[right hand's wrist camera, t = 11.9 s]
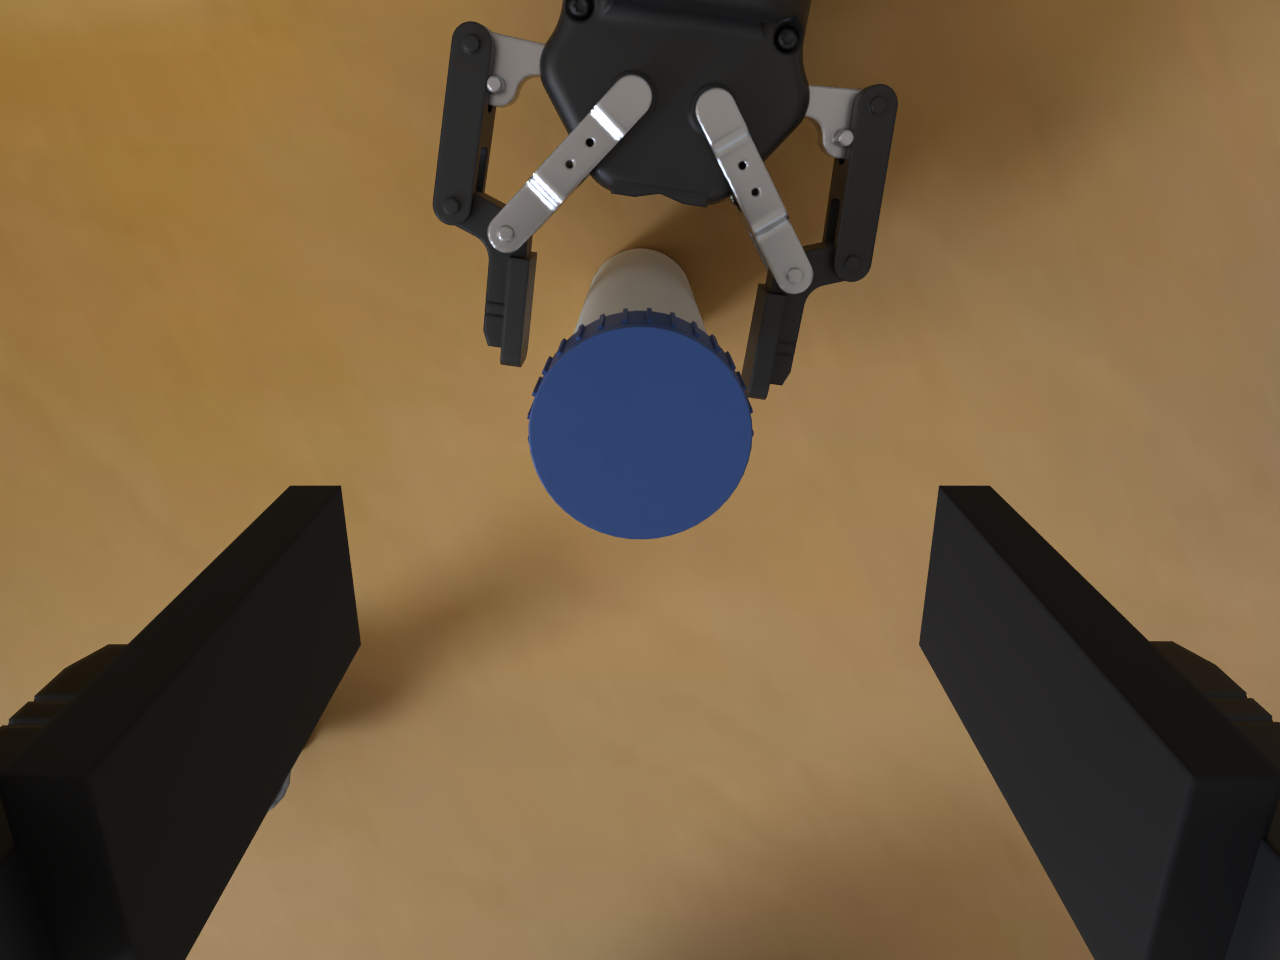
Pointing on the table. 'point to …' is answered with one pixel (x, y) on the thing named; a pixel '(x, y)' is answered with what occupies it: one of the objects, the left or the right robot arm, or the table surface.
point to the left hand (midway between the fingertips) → (633, 377)
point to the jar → (640, 288)
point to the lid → (640, 425)
